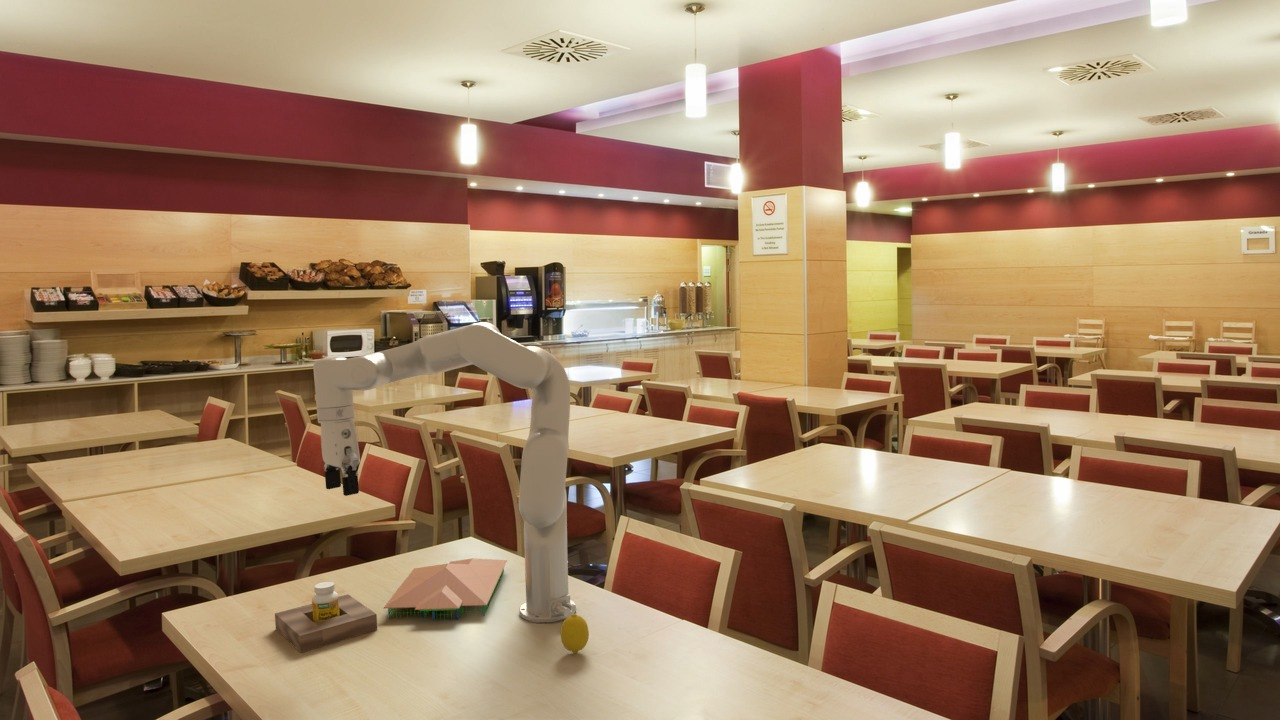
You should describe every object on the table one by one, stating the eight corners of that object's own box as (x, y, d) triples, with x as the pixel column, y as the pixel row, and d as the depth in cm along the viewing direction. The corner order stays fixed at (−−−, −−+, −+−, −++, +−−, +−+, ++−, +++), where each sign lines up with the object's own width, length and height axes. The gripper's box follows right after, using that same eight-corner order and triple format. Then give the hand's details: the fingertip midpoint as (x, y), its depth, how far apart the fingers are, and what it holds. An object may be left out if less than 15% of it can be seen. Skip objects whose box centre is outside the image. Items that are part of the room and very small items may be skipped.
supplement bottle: (337, 620, 176) (334, 578, 175) (342, 629, 171) (340, 585, 171) (311, 626, 173) (308, 583, 172) (316, 635, 168) (314, 591, 168)
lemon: (593, 649, 160) (592, 610, 159) (582, 661, 154) (581, 621, 154) (568, 645, 161) (567, 607, 161) (556, 657, 156) (555, 618, 156)
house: (380, 627, 174) (378, 591, 173) (419, 574, 207) (417, 544, 206) (485, 624, 174) (483, 588, 174) (507, 572, 207) (506, 541, 206)
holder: (377, 629, 171) (376, 613, 171) (300, 652, 161) (299, 635, 161) (348, 609, 183) (347, 594, 183) (275, 629, 173) (274, 613, 173)
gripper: (369, 414, 170) (375, 493, 171) (337, 409, 182) (343, 482, 184) (334, 419, 165) (341, 500, 166) (304, 413, 177) (310, 489, 179)
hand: (342, 491), depth 175 cm, fingers open, 9 cm apart
